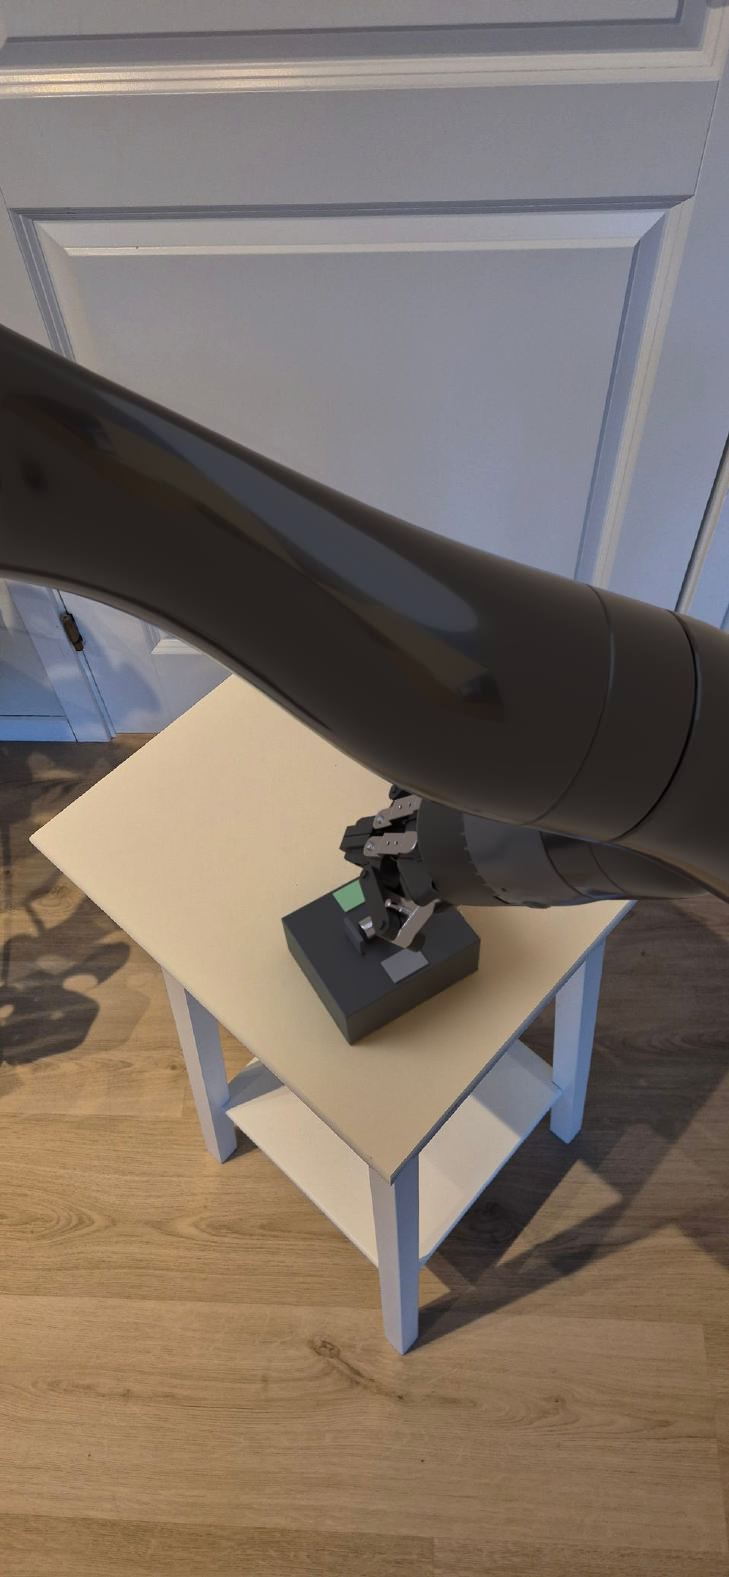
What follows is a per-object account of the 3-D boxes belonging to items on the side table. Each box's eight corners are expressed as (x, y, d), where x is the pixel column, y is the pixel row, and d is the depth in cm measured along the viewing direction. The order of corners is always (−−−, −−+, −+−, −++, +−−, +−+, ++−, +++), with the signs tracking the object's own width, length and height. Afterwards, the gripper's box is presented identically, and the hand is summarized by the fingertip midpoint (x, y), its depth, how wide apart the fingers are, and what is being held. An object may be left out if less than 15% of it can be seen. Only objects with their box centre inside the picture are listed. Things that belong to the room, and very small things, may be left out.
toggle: (368, 948, 76) (401, 926, 65) (352, 918, 77) (381, 891, 65) (402, 929, 77) (439, 904, 66) (385, 900, 78) (419, 870, 66)
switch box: (350, 1046, 77) (343, 1006, 71) (287, 948, 82) (277, 904, 76) (478, 969, 80) (482, 926, 74) (410, 880, 85) (409, 834, 80)
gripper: (513, 662, 47) (340, 722, 62) (427, 929, 43) (264, 923, 58) (626, 734, 50) (435, 774, 65) (555, 989, 46) (369, 969, 61)
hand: (354, 844), depth 61 cm, fingers closed
